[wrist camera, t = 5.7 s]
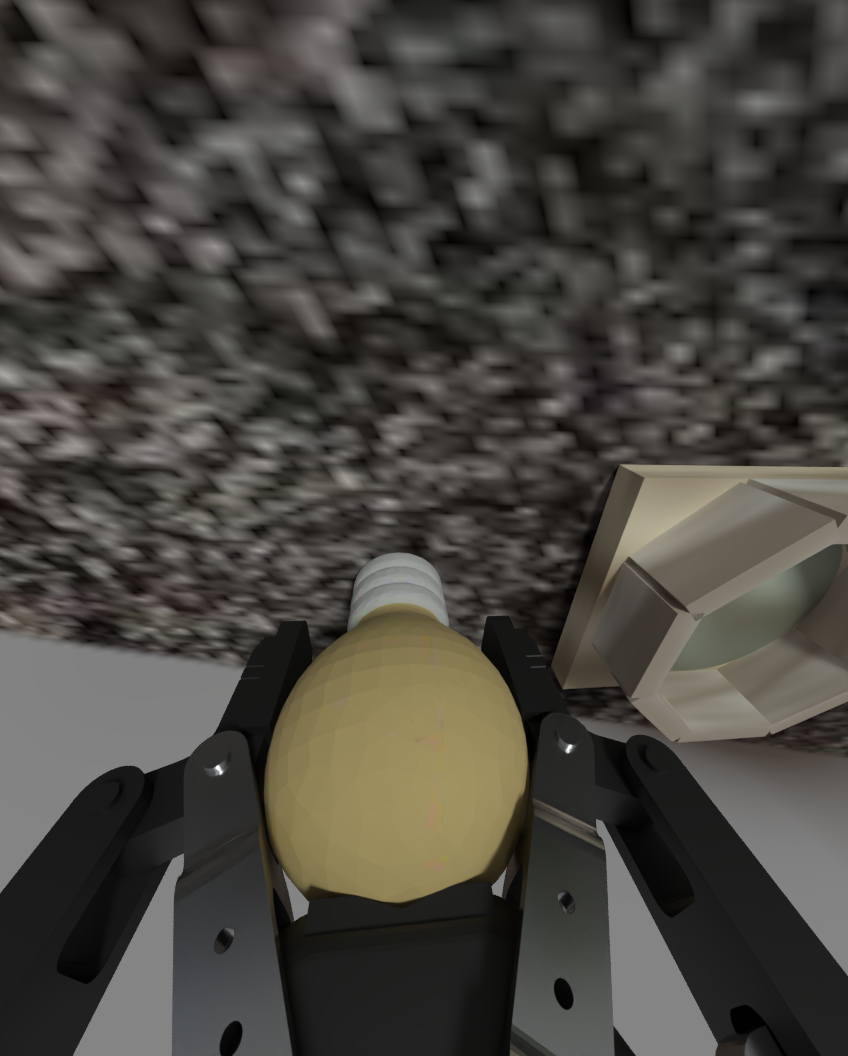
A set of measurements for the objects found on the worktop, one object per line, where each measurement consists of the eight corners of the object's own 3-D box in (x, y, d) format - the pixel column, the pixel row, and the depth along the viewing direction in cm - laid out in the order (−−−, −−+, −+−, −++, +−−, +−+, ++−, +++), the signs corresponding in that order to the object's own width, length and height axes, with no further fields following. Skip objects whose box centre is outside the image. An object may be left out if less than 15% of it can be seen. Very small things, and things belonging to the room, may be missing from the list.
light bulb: (432, 490, 13) (518, 817, 4) (488, 599, 16) (608, 920, 7) (293, 557, 14) (115, 939, 5) (372, 648, 17) (349, 982, 8)
